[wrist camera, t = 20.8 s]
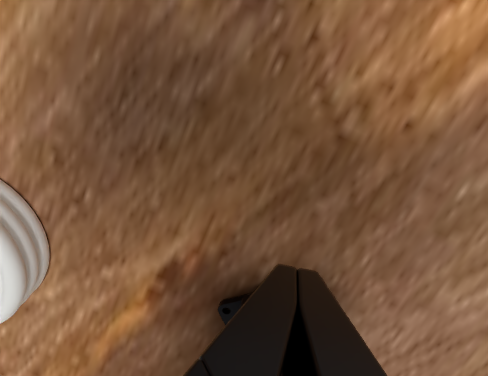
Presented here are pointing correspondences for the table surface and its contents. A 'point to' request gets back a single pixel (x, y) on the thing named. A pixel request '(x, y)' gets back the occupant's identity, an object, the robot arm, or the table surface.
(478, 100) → the table surface
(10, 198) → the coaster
